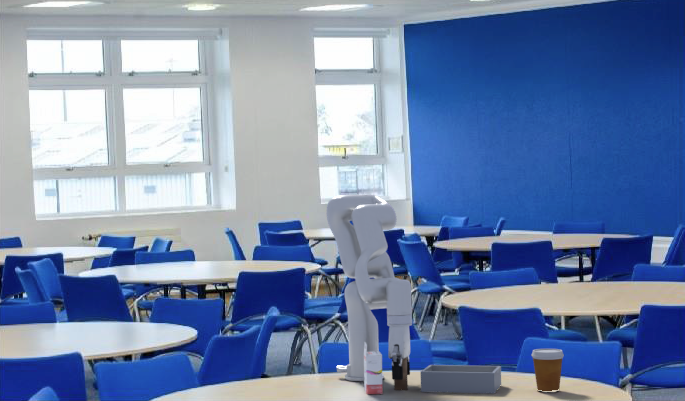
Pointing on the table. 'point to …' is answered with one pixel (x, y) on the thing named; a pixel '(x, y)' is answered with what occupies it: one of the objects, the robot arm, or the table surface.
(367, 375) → the ink cartridge box
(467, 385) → the box
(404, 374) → the peg
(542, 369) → the disposable coffee cup
